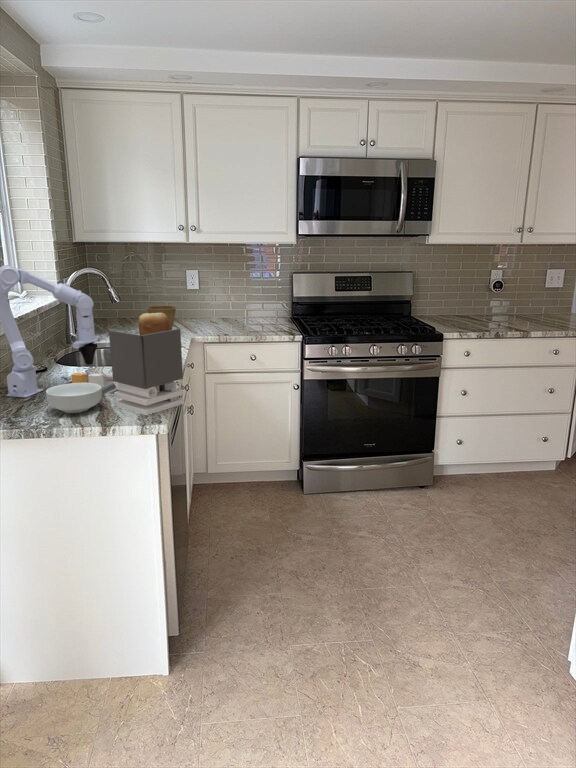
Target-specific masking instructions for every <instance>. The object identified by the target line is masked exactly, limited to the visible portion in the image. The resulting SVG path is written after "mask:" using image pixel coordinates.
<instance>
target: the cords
mask: <svg viewBox="0 0 576 768" xmlns="http://www.w3.org/2000/svg"><path fill="white" fill-rule="evenodd" d="M87 376H88V374H86V377H87ZM70 383H72V380H71V381H67V382H66V383H65V384H70ZM118 391H119V390H117V388H114V389H112V390H110V391H109V393H110V395H111V394H114V392H118Z"/></svg>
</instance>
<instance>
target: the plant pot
mask: <svg viewBox="0 0 576 768" xmlns="http://www.w3.org/2000/svg"><path fill="white" fill-rule="evenodd" d="M146 310H147V313H163V314H165V315H166V316H167V318H168V321H169V325H170V330H173V326H174V324H175V323H174V322H175V318H176V307H175V306H174V305H173V306H171V305H154V306H153V305H152V306H147V309H146Z"/></svg>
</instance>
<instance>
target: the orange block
mask: <svg viewBox="0 0 576 768" xmlns="http://www.w3.org/2000/svg"><path fill="white" fill-rule="evenodd" d="M86 375H87V373H85V372H74V373H72V374H70V377H71V381H72V383H87V378H86Z"/></svg>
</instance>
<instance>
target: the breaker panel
mask: <svg viewBox="0 0 576 768" xmlns="http://www.w3.org/2000/svg"><path fill="white" fill-rule="evenodd" d="M87 375H88V374H87ZM86 378H87V383H94V384H98V385H100V386H101V387H102V395H104V394H106V393H109V392H110V391H111V390H113V389H115V388H116V386H115V385H114V381H113V376H106V375H105V376H104V374H103V373H91V374H89V375H88V376H87V377H86Z"/></svg>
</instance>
